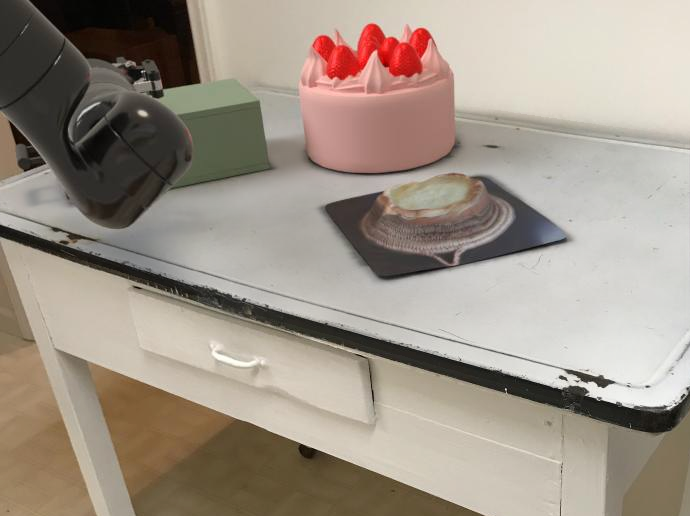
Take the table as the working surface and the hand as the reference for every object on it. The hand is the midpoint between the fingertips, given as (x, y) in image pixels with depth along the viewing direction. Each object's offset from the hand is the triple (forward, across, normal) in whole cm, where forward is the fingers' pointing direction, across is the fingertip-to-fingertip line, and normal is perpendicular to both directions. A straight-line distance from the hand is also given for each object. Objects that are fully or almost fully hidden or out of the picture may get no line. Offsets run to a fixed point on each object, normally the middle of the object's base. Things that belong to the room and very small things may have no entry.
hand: (81, 73), depth 91 cm
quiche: (-23, -31, +16) cm, 42 cm away
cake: (+3, -35, +16) cm, 38 cm away
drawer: (+10, 0, +15) cm, 18 cm away
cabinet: (+10, -12, +16) cm, 22 cm away
